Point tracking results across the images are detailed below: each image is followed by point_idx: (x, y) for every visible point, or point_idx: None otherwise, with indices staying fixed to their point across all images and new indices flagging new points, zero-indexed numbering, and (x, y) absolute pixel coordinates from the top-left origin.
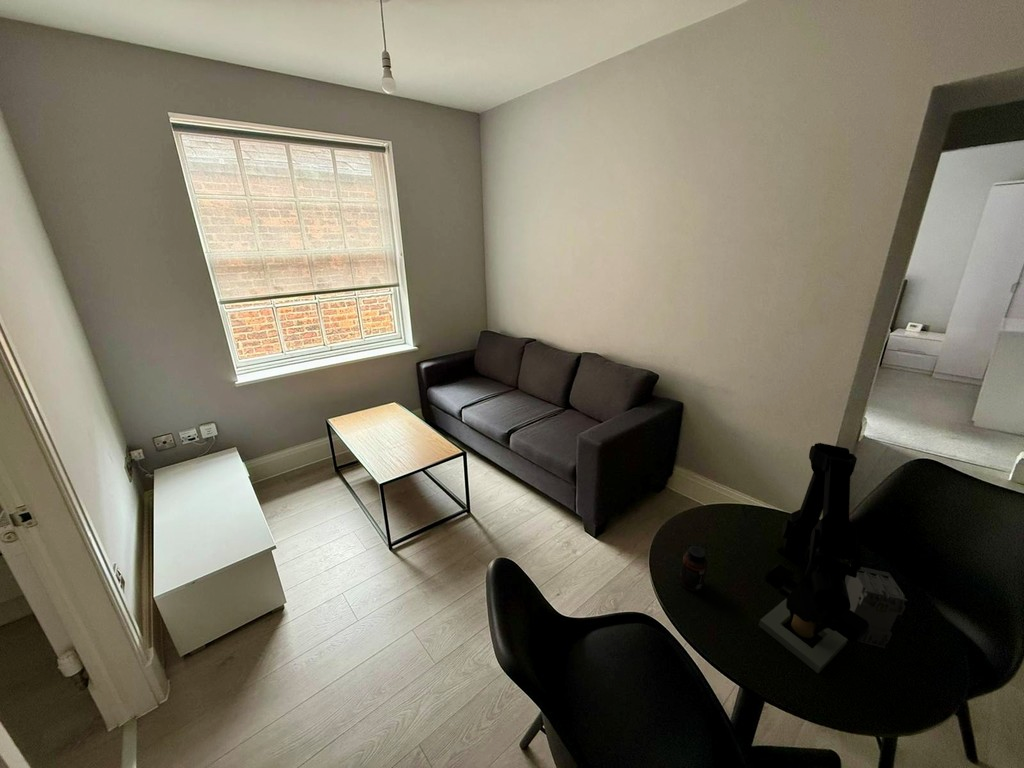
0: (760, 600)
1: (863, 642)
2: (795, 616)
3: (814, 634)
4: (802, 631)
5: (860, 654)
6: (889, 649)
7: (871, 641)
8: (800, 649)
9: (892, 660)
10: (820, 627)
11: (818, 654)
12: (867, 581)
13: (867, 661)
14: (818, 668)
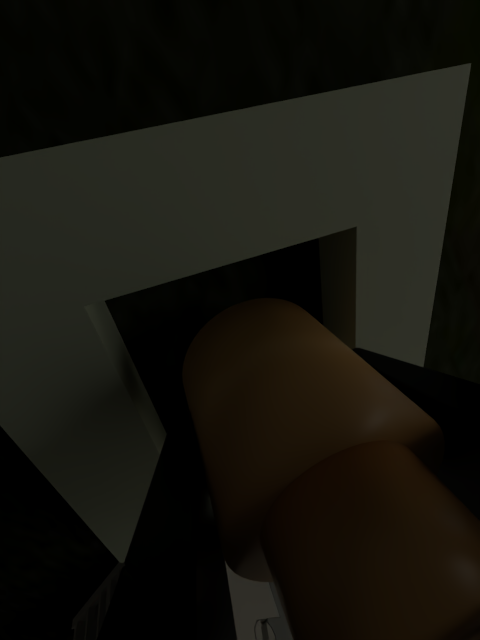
0: (460, 282)
1: (113, 569)
2: (381, 377)
3: (179, 415)
4: (235, 339)
5: (54, 537)
6: (64, 627)
7: (99, 608)
8: (93, 170)
9: (7, 623)
10: (150, 593)
11: (11, 314)
12: None
13: (8, 547)
14: None
